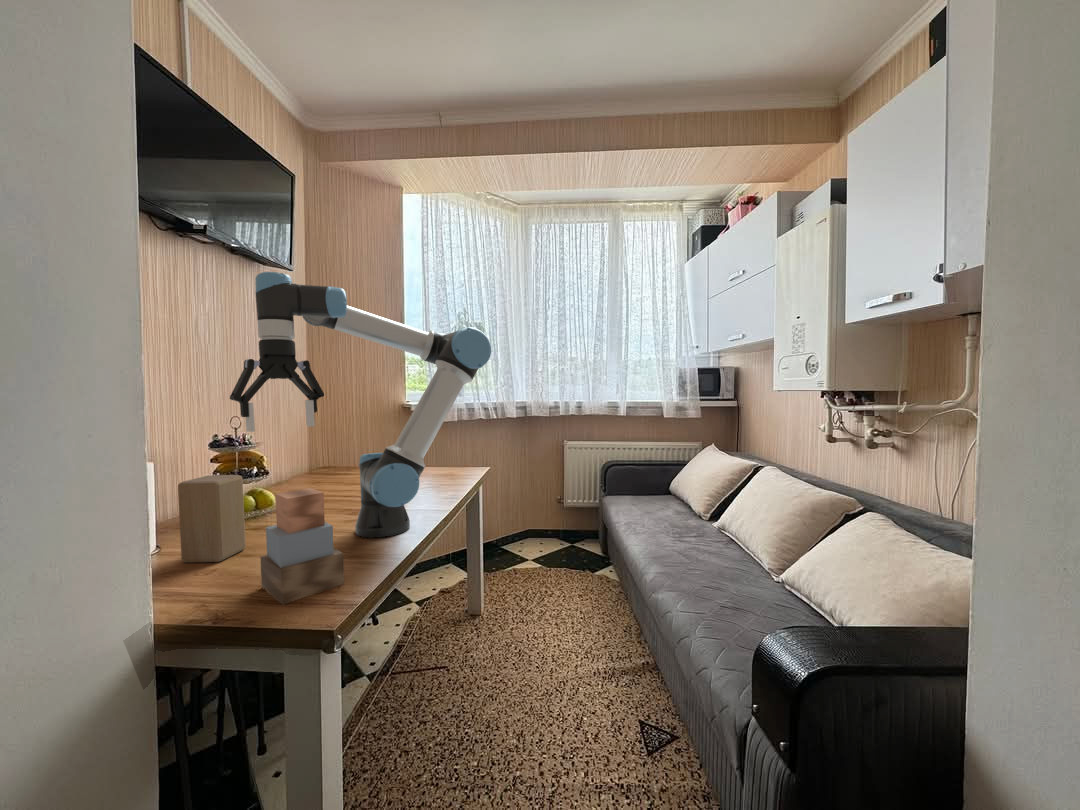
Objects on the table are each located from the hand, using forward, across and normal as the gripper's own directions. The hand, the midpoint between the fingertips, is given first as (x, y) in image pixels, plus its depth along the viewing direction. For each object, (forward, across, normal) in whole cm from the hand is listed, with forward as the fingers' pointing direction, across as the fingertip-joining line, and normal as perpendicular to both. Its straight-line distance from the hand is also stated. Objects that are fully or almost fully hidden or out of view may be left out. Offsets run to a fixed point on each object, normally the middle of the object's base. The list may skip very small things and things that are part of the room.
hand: (282, 428), depth 108 cm
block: (+32, +9, -21) cm, 40 cm away
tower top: (+26, +5, +17) cm, 31 cm away
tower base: (+33, +5, +17) cm, 37 cm away
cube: (+20, +5, +17) cm, 26 cm away
